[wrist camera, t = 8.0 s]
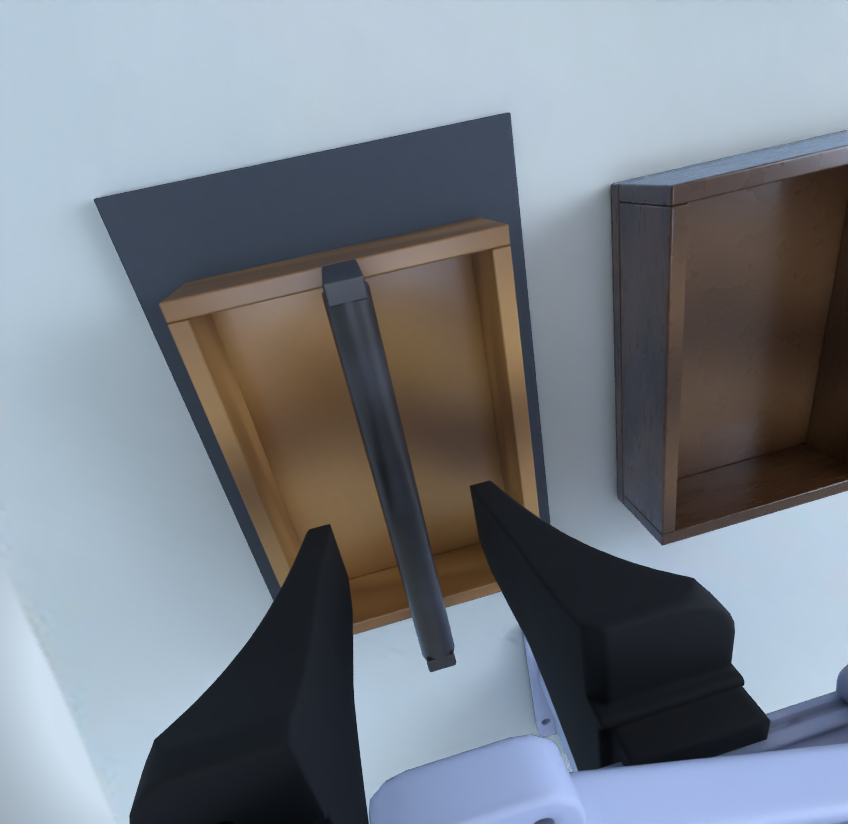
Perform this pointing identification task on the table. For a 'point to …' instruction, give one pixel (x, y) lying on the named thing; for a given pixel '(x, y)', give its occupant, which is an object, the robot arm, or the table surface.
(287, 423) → the box
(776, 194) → the dark brown wooden box
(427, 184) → the mat
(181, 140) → the table surface
